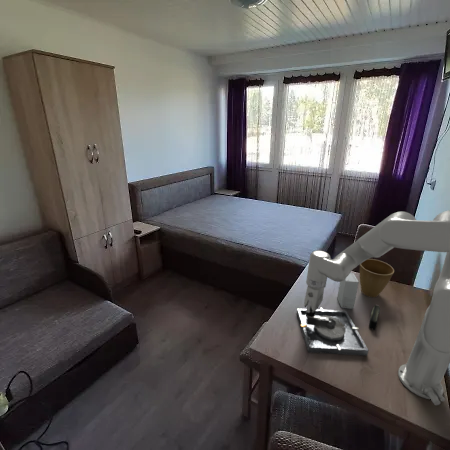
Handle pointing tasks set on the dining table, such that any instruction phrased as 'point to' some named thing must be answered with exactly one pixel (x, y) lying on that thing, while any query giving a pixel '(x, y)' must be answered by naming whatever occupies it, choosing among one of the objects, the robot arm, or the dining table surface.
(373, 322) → the green cucumber
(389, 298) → the dining table surface
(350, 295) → the skincare box
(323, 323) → the dial
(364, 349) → the housing
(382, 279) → the plant pot
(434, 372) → the robot arm
